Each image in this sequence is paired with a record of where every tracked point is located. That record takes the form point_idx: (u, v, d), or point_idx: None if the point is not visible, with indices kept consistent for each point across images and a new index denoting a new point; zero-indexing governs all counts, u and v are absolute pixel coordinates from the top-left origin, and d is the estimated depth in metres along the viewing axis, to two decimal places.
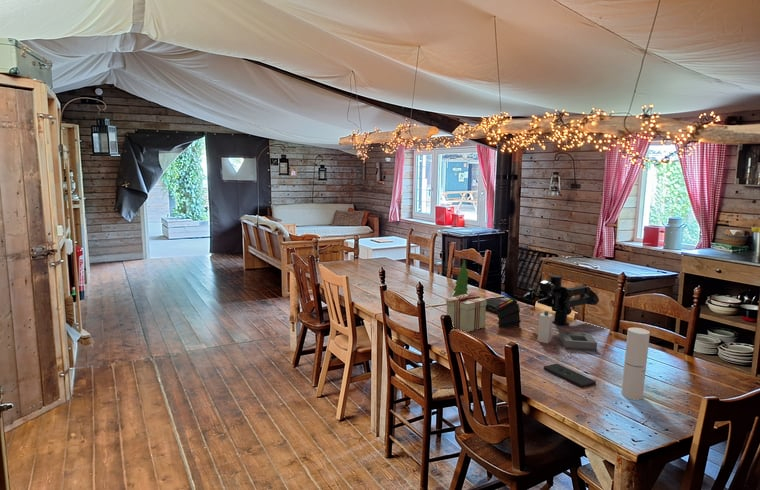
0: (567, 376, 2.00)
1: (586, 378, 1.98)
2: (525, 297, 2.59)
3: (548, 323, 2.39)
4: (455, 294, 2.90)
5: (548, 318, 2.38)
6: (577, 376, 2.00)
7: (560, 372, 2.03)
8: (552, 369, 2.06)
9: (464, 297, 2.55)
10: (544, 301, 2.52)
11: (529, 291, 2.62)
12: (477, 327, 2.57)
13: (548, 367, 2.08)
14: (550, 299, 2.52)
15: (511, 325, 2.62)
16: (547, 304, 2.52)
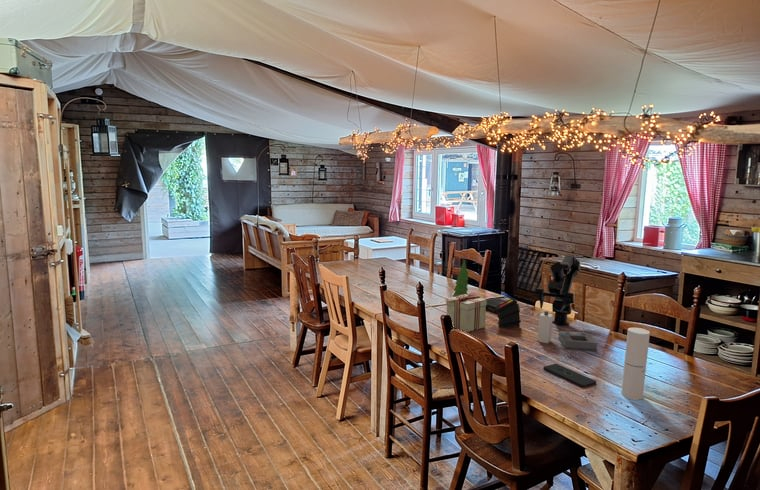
0: (567, 376, 1.99)
1: (586, 378, 1.98)
2: None
3: (548, 323, 2.39)
4: (455, 294, 2.90)
5: (548, 318, 2.38)
6: (577, 375, 2.00)
7: (560, 372, 2.03)
8: (552, 369, 2.06)
9: (464, 297, 2.55)
10: (564, 305, 2.46)
11: (540, 295, 2.52)
12: (477, 327, 2.57)
13: (548, 367, 2.08)
14: (568, 300, 2.46)
15: (511, 325, 2.62)
16: (566, 304, 2.48)
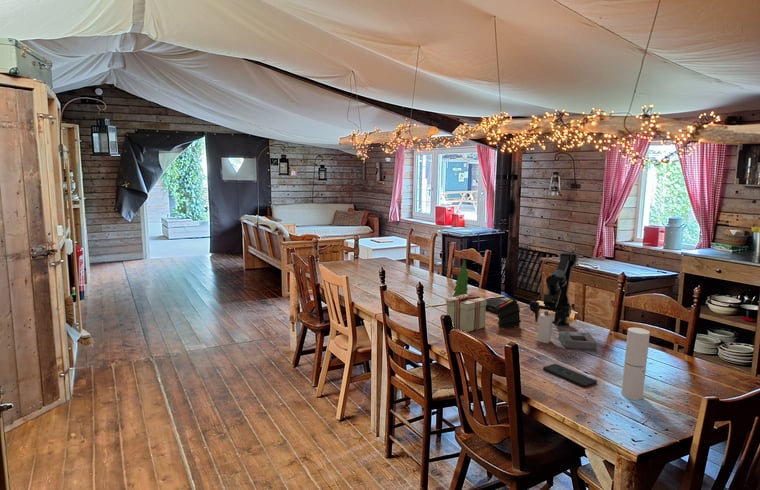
0: (568, 376, 1.99)
1: (587, 378, 1.98)
2: (537, 319, 2.45)
3: (548, 323, 2.39)
4: (455, 294, 2.90)
5: (548, 318, 2.38)
6: (577, 375, 2.00)
7: (560, 372, 2.03)
8: (552, 370, 2.06)
9: (464, 297, 2.55)
10: (559, 319, 2.41)
11: (535, 309, 2.46)
12: (477, 327, 2.57)
13: (548, 368, 2.08)
14: (563, 314, 2.41)
15: (511, 325, 2.62)
16: (562, 318, 2.42)
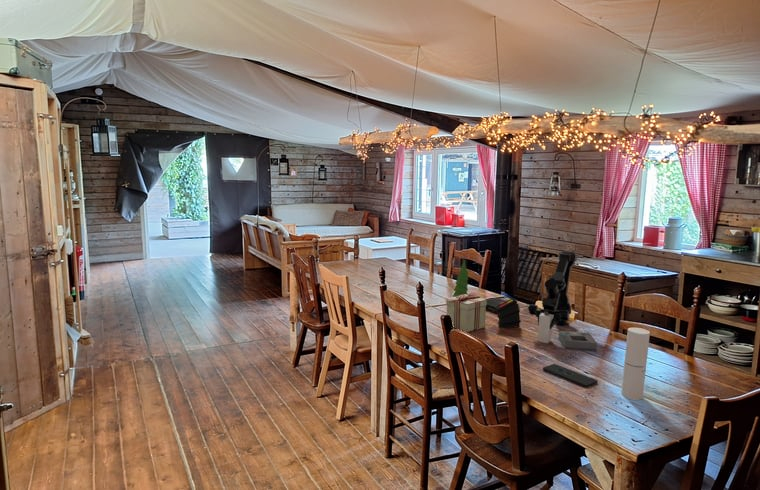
0: (569, 376, 1.99)
1: (587, 377, 1.99)
2: None
3: (548, 322, 2.38)
4: (455, 294, 2.90)
5: (548, 318, 2.38)
6: (578, 375, 2.00)
7: (560, 372, 2.03)
8: (552, 370, 2.05)
9: (464, 297, 2.55)
10: (554, 322, 2.41)
11: (538, 313, 2.44)
12: (477, 327, 2.57)
13: (547, 368, 2.07)
14: (558, 316, 2.40)
15: (511, 325, 2.62)
16: (557, 321, 2.42)
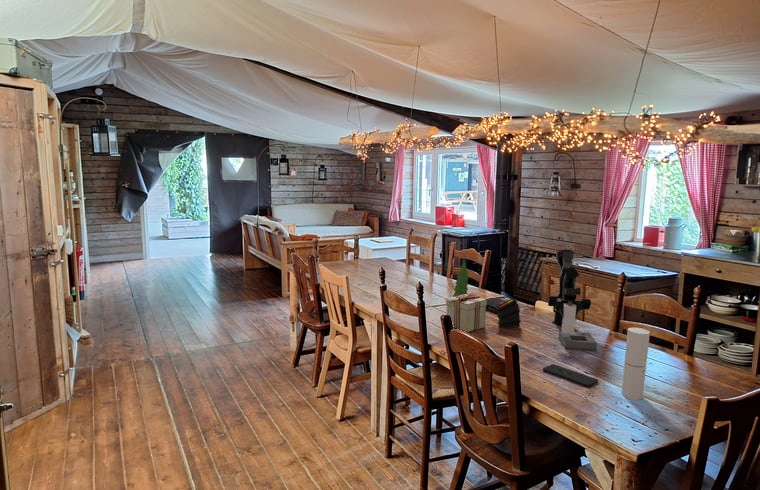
0: (570, 376, 1.99)
1: (588, 377, 1.99)
2: None
3: (574, 313, 2.33)
4: (455, 294, 2.90)
5: (574, 308, 2.32)
6: (578, 375, 2.01)
7: (561, 373, 2.03)
8: (552, 370, 2.05)
9: (464, 297, 2.55)
10: (577, 312, 2.36)
11: (560, 304, 2.37)
12: (477, 327, 2.57)
13: (547, 368, 2.07)
14: (581, 306, 2.36)
15: (511, 325, 2.62)
16: (578, 310, 2.38)
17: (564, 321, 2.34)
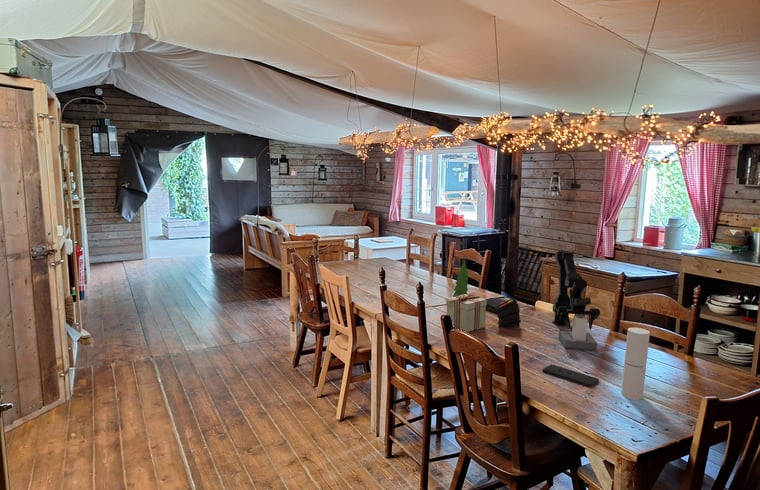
0: (571, 377, 1.99)
1: (588, 376, 2.00)
2: None
3: (585, 325, 2.32)
4: (455, 294, 2.90)
5: (585, 321, 2.32)
6: (579, 375, 2.01)
7: (561, 373, 2.02)
8: (552, 371, 2.04)
9: (464, 297, 2.55)
10: None
11: (566, 314, 2.36)
12: (477, 327, 2.57)
13: (547, 369, 2.06)
14: (595, 316, 2.36)
15: (511, 325, 2.62)
16: None
17: (575, 334, 2.33)
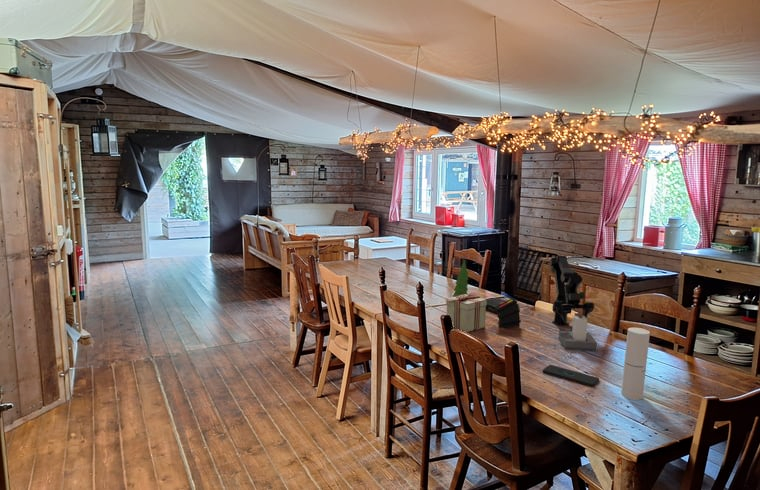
0: (572, 377, 1.99)
1: (588, 376, 2.00)
2: None
3: (585, 325, 2.32)
4: (455, 294, 2.90)
5: (585, 321, 2.32)
6: (579, 375, 2.01)
7: (562, 373, 2.02)
8: (553, 371, 2.04)
9: (464, 297, 2.55)
10: None
11: (561, 308, 2.46)
12: (477, 327, 2.57)
13: (547, 370, 2.05)
14: (589, 310, 2.45)
15: (511, 325, 2.62)
16: None
17: (575, 334, 2.33)
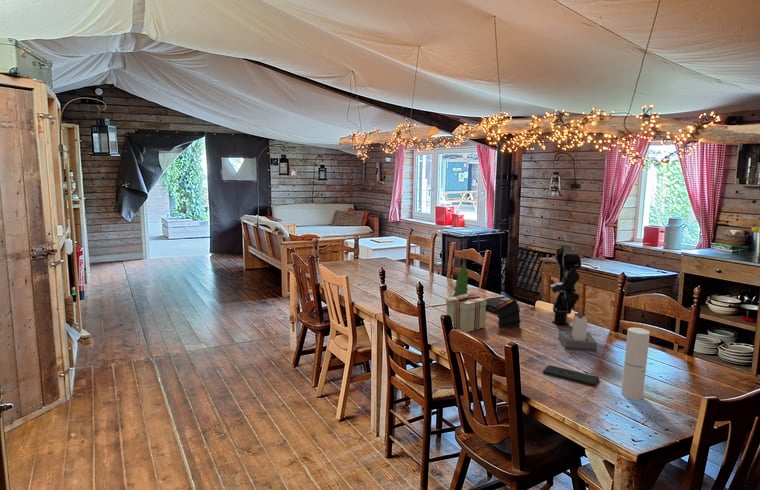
0: (573, 377, 1.99)
1: (588, 375, 2.01)
2: (565, 303, 2.56)
3: (585, 325, 2.32)
4: (455, 294, 2.90)
5: (585, 321, 2.32)
6: (579, 374, 2.01)
7: (562, 374, 2.02)
8: (553, 372, 2.03)
9: (464, 297, 2.55)
10: (570, 304, 2.46)
11: (560, 294, 2.57)
12: (477, 327, 2.57)
13: (548, 371, 2.05)
14: (569, 299, 2.44)
15: (511, 325, 2.62)
16: (574, 301, 2.45)
17: (575, 334, 2.33)
